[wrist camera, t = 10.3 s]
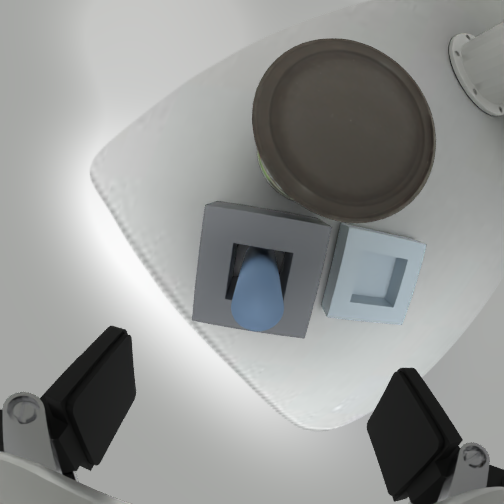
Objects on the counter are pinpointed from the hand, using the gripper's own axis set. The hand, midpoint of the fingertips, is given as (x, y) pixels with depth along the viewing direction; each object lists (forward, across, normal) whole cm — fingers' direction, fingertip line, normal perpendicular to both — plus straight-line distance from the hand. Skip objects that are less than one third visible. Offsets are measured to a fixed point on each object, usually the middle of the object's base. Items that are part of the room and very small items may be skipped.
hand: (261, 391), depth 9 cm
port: (+20, 0, +1) cm, 20 cm away
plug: (+20, 0, +1) cm, 20 cm away
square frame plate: (+20, -12, 0) cm, 23 cm away
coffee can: (+21, -3, -10) cm, 23 cm away
